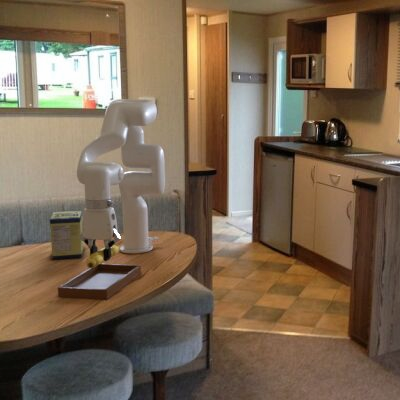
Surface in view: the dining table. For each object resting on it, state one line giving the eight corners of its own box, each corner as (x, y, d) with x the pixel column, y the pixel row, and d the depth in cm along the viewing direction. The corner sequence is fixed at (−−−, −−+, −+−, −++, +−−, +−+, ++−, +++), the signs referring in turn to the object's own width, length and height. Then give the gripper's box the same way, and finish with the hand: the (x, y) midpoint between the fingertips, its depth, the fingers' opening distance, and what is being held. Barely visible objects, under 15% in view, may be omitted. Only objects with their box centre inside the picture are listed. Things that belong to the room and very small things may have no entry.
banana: (108, 251, 192) (110, 241, 191) (120, 254, 191) (122, 244, 191) (79, 268, 172) (81, 257, 172) (92, 271, 172) (94, 260, 171)
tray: (98, 271, 197) (97, 263, 196) (141, 273, 195) (140, 265, 195) (58, 296, 172) (57, 287, 171) (107, 299, 170) (106, 290, 170)
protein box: (84, 247, 226) (82, 209, 223) (82, 258, 212) (80, 218, 209) (55, 249, 222) (53, 211, 219) (52, 260, 208) (49, 219, 205)
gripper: (128, 203, 182) (130, 257, 185) (79, 201, 183) (82, 255, 186) (118, 207, 174) (120, 264, 177) (67, 205, 176) (70, 261, 179)
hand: (100, 259), depth 182 cm, fingers closed on banana, 3 cm apart
